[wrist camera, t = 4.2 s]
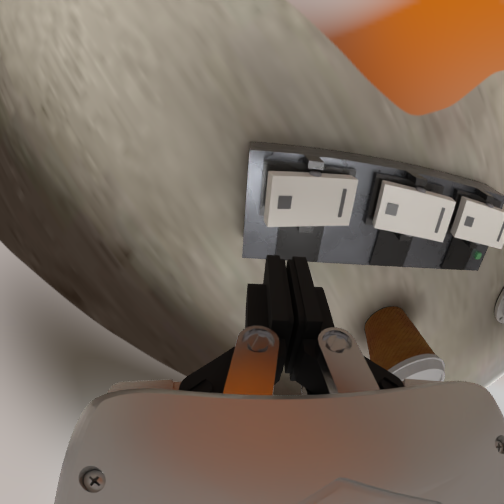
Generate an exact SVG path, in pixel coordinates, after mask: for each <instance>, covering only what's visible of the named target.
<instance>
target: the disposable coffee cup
mask: <svg viewBox="0 0 504 504" xmlns="http://www.w3.org/2000/svg"><path fill="white" fill-rule="evenodd" d="M365 333H366V338H367V343H368V349H369V355H370V360H371V361H373V362H374V363H376V364H378V365H379V366H381V367H382V368H384V369H386V370H387V371H389V372H391V373H392V374H394V375H396V376H397V377H398V378H399V379H400V380H401V381H403V380H404V379H417V380H430V381H442V382H443V381H444V378H445V372H444V368H445V364H444V361H443V360H442V359H441V358H439V357H438V356H436V355H435V353H434V352H433V351H432V349H431V348H430V347H429V345H428V344H427V343H426V341H425V340H424V338H423V337H422V335H421V334H420V333H419V331H418V330H417V328H416V327H415V326H414V324H413V323H412V322H411V320H410V319H409V318H408V316H407V315H406V314H405V312H404V311H403V310H402V309H401V308H399V307H394V306H393V307H386V308H383V309H381V310H379V311H377V312H376V313H374V314H373V315H372V316H371V317H370V318H369V319H368V321H367V322H366V325H365Z"/></svg>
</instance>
